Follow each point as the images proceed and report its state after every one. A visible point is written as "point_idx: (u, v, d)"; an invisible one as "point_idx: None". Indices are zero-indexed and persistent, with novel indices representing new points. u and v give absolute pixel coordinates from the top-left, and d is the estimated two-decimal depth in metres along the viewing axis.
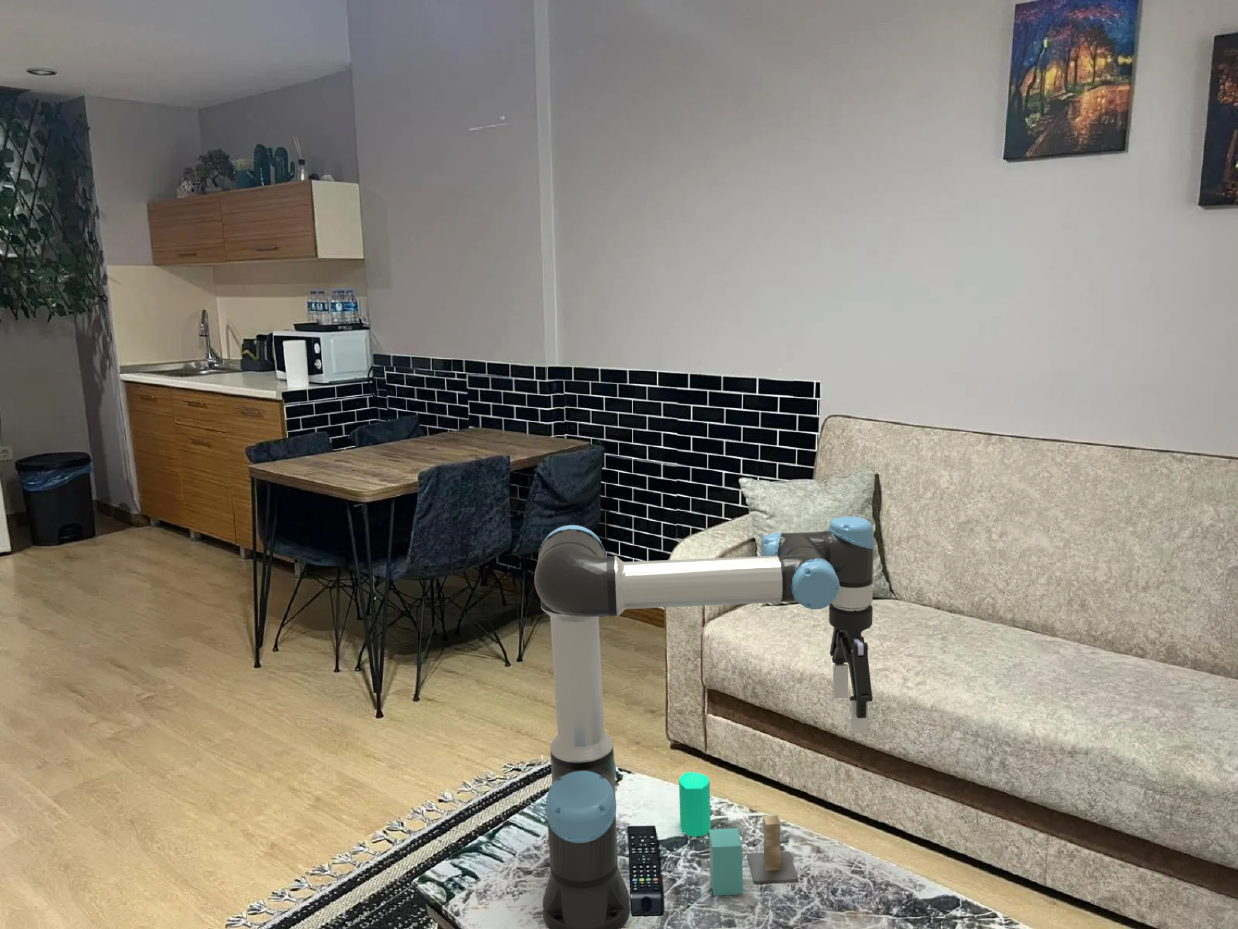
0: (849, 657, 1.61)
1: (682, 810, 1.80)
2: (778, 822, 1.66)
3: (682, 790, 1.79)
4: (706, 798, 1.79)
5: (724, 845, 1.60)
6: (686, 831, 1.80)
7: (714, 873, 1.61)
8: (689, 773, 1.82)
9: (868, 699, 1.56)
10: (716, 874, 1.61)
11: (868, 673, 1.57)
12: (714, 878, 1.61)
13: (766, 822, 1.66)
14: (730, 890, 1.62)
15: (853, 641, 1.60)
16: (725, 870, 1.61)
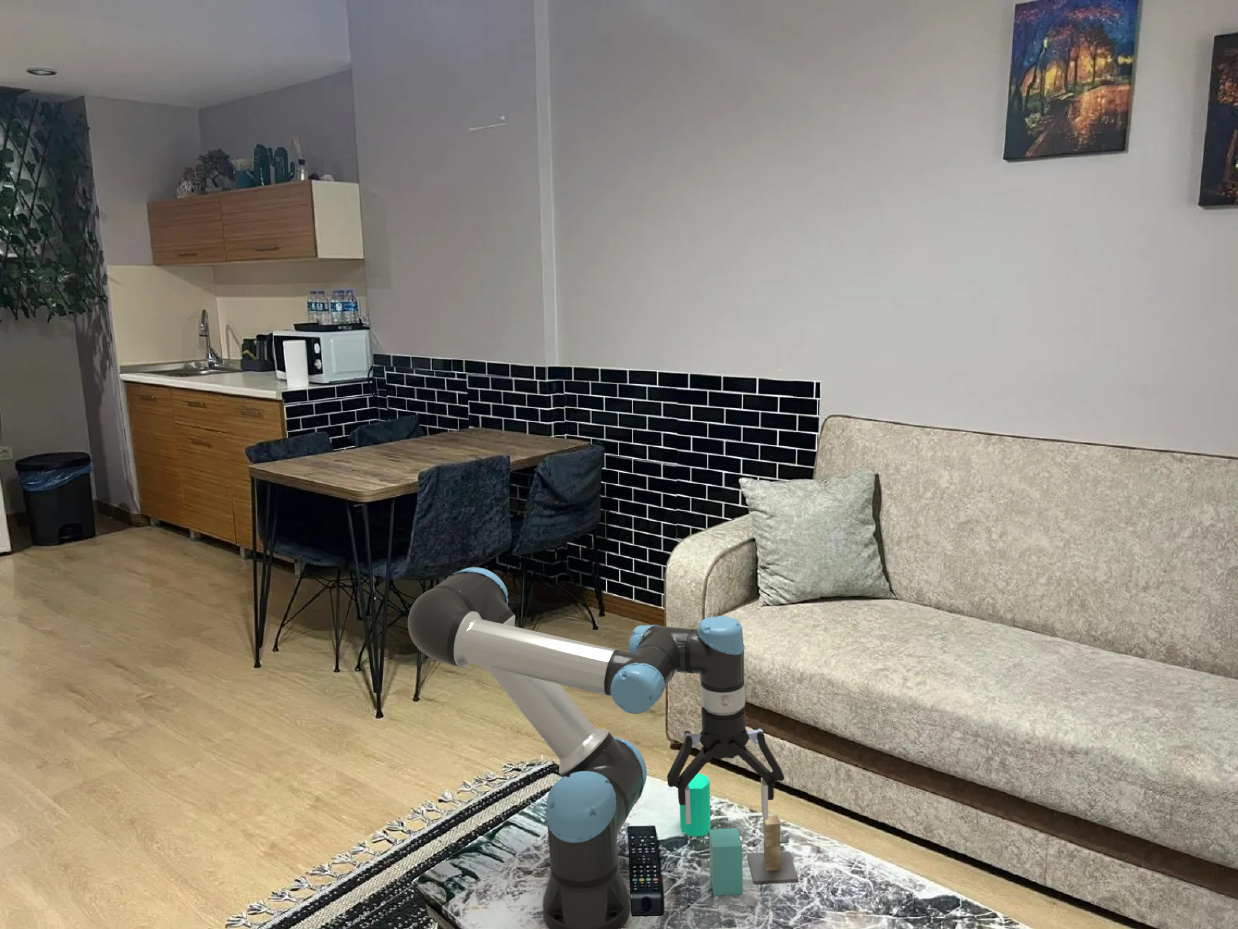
0: (702, 749, 1.60)
1: (682, 810, 1.80)
2: (778, 822, 1.66)
3: None
4: (706, 798, 1.79)
5: (724, 845, 1.60)
6: (686, 831, 1.80)
7: (714, 873, 1.61)
8: None
9: None
10: (716, 874, 1.61)
11: (677, 762, 1.58)
12: (714, 878, 1.61)
13: (766, 822, 1.66)
14: (730, 890, 1.62)
15: (699, 734, 1.59)
16: (725, 870, 1.61)
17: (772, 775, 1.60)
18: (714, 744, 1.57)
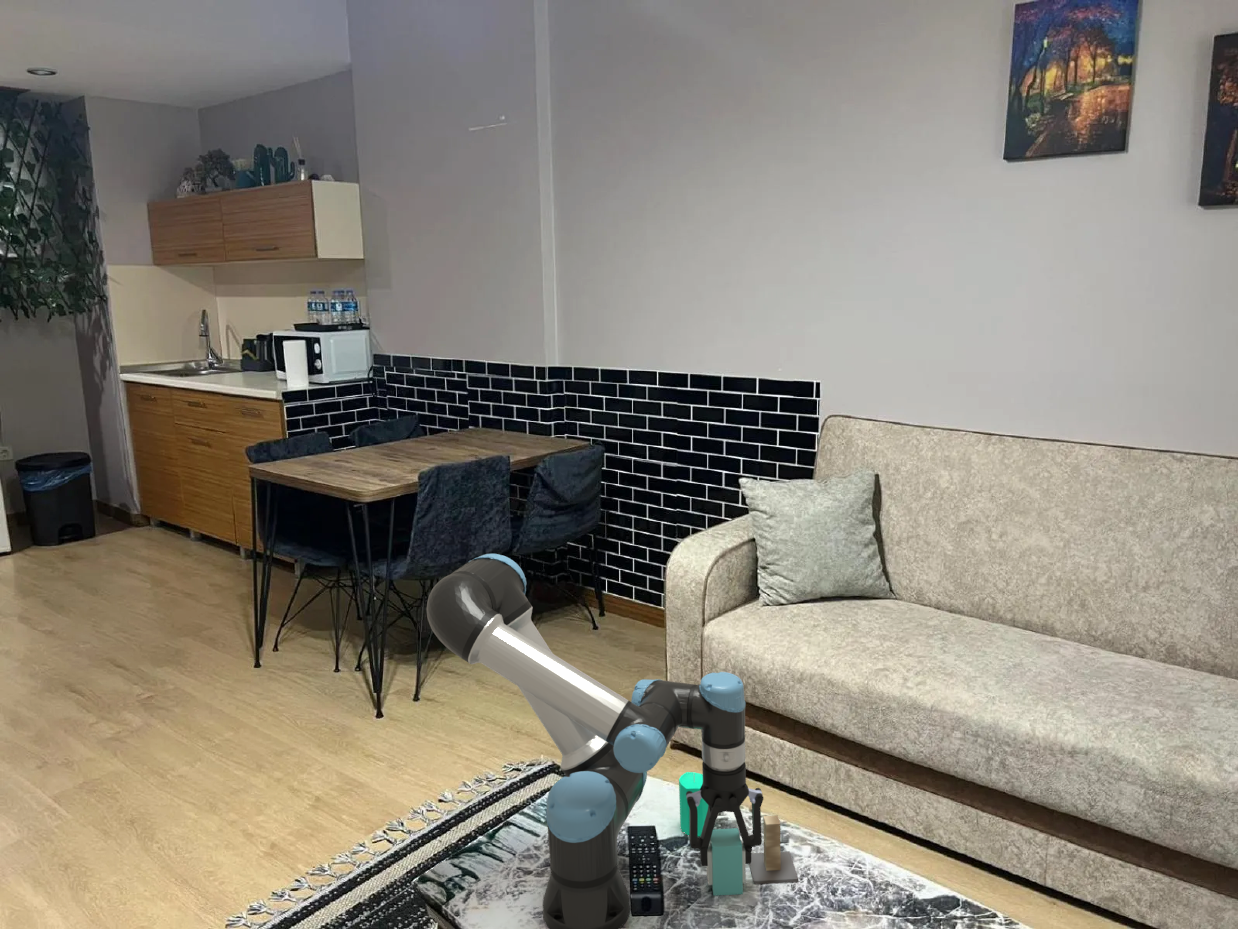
0: (708, 806, 1.63)
1: (682, 810, 1.80)
2: (778, 822, 1.66)
3: (682, 790, 1.79)
4: None
5: (724, 845, 1.60)
6: (686, 831, 1.80)
7: (714, 873, 1.61)
8: (689, 773, 1.82)
9: (690, 843, 1.62)
10: (716, 874, 1.61)
11: (690, 824, 1.61)
12: (714, 878, 1.61)
13: (766, 822, 1.66)
14: (730, 890, 1.62)
15: (699, 791, 1.61)
16: (725, 870, 1.61)
17: None
18: (714, 800, 1.59)
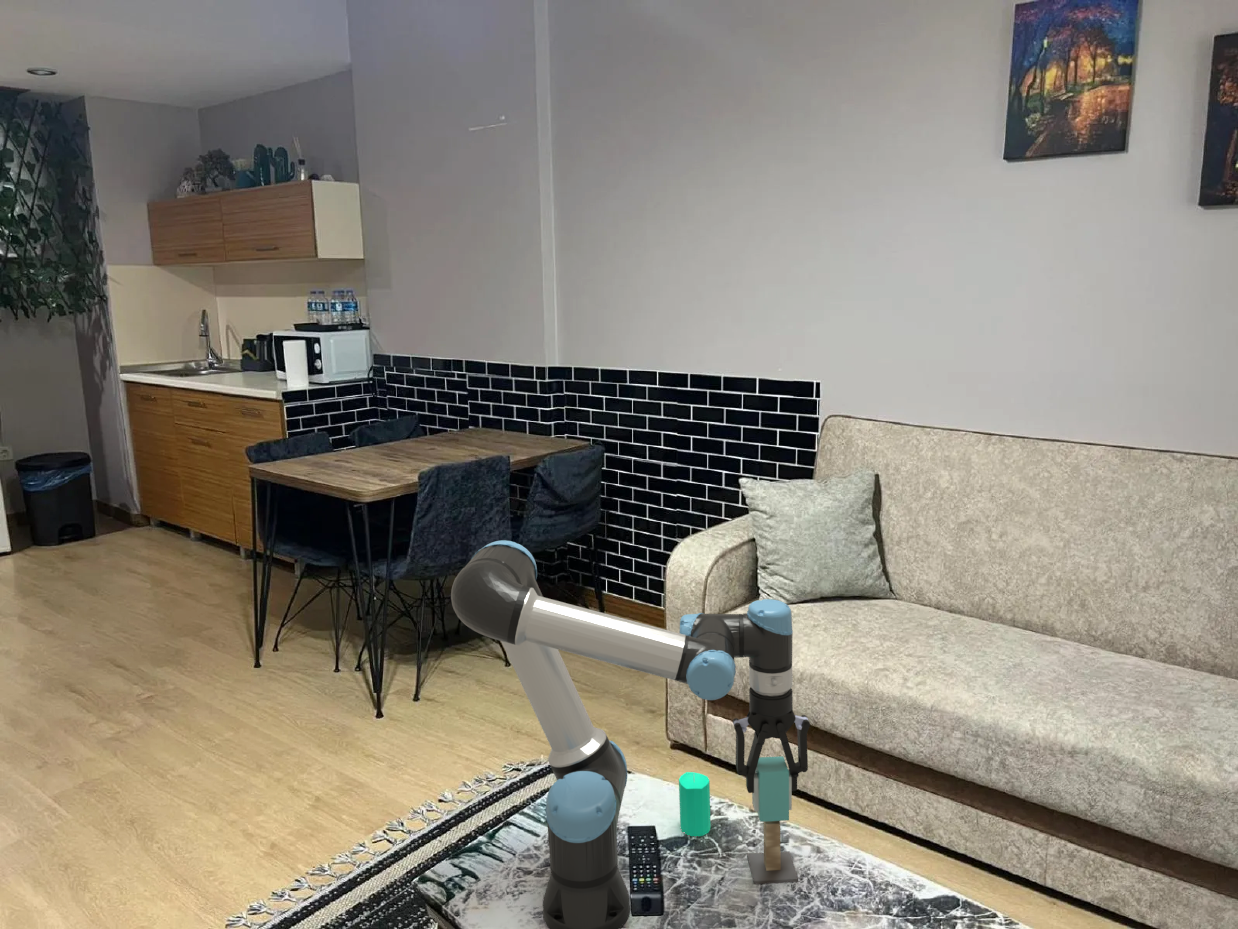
0: (755, 733, 1.64)
1: (682, 810, 1.80)
2: (778, 822, 1.66)
3: (682, 790, 1.79)
4: (706, 798, 1.79)
5: (771, 771, 1.62)
6: (686, 831, 1.80)
7: (761, 799, 1.63)
8: (689, 773, 1.82)
9: (737, 770, 1.64)
10: (763, 800, 1.63)
11: (737, 751, 1.63)
12: (761, 804, 1.63)
13: (766, 822, 1.66)
14: (777, 816, 1.64)
15: (746, 717, 1.63)
16: (772, 795, 1.63)
17: None
18: (761, 725, 1.61)
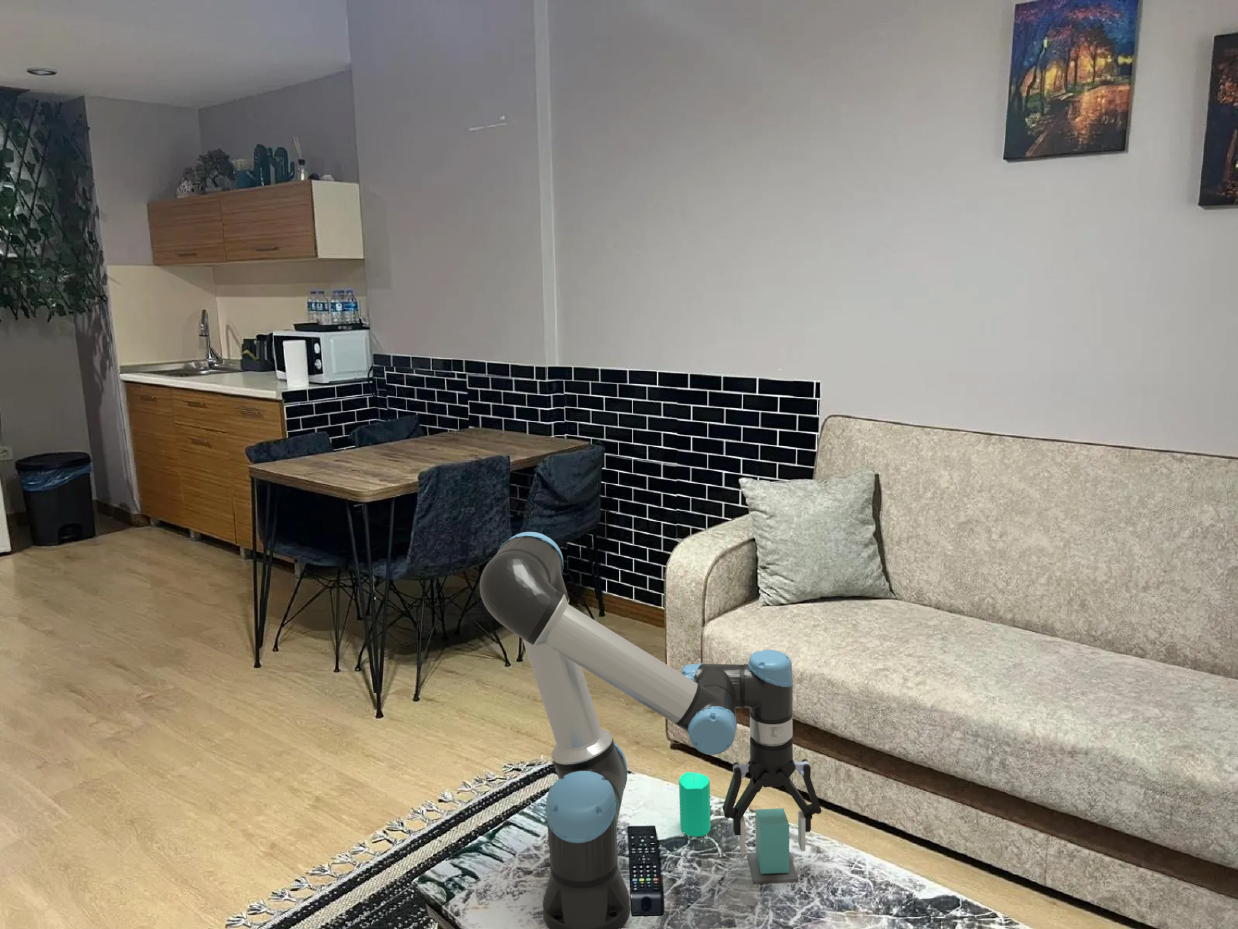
0: (751, 779, 1.66)
1: (682, 810, 1.80)
2: None
3: (682, 790, 1.79)
4: (706, 798, 1.79)
5: (771, 825, 1.64)
6: (686, 831, 1.80)
7: (761, 852, 1.65)
8: (689, 773, 1.82)
9: None
10: (763, 853, 1.65)
11: (730, 794, 1.64)
12: (761, 857, 1.65)
13: None
14: (777, 868, 1.66)
15: None
16: (772, 848, 1.65)
17: (810, 808, 1.66)
18: (762, 774, 1.63)
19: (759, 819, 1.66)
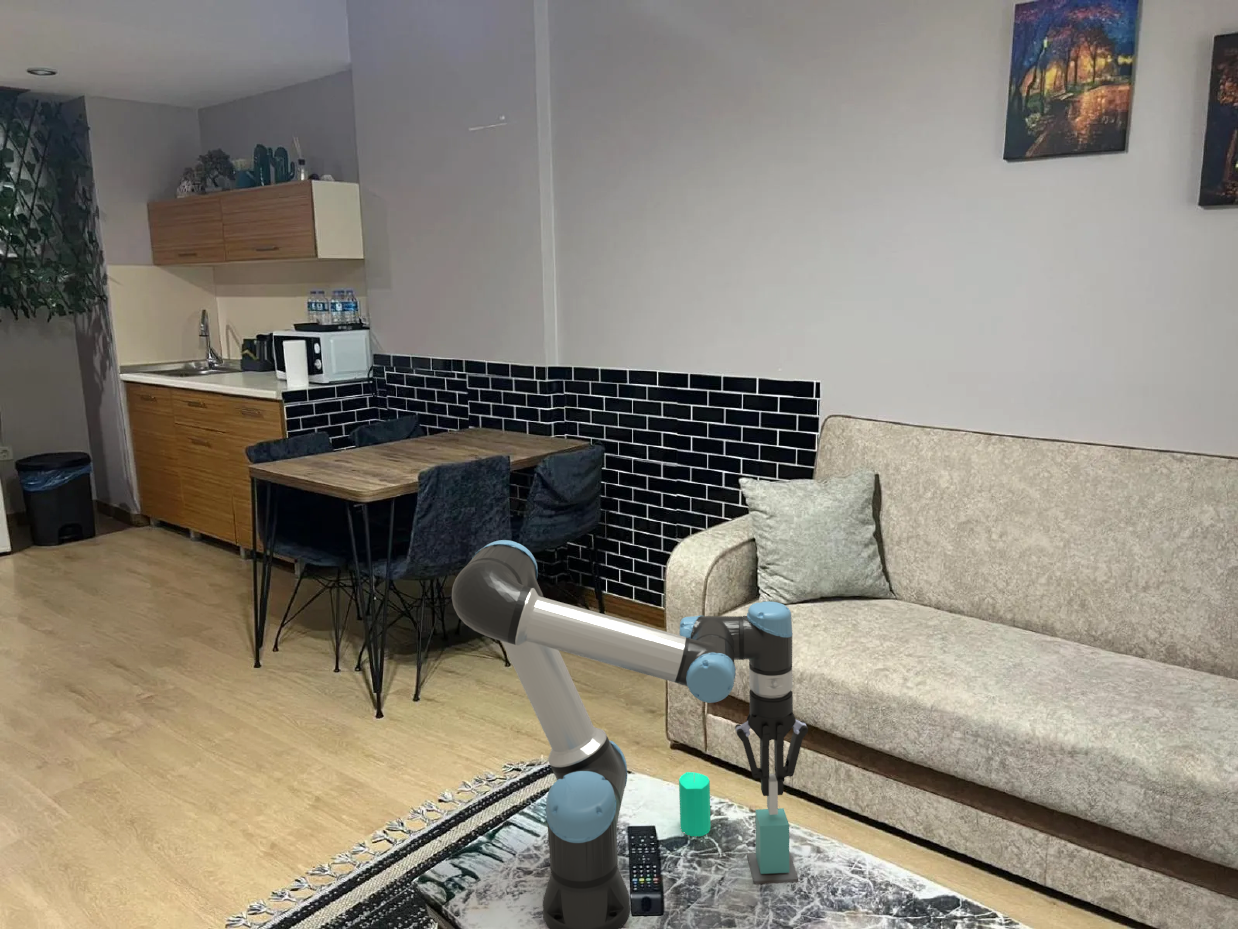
0: None
1: (682, 810, 1.80)
2: None
3: (682, 790, 1.79)
4: (706, 798, 1.79)
5: (771, 825, 1.64)
6: (686, 831, 1.80)
7: (761, 852, 1.65)
8: (689, 773, 1.82)
9: None
10: (763, 853, 1.65)
11: None
12: (761, 857, 1.65)
13: None
14: (777, 868, 1.66)
15: (747, 721, 1.63)
16: (772, 848, 1.65)
17: (784, 773, 1.64)
18: (762, 728, 1.61)
19: (759, 819, 1.66)
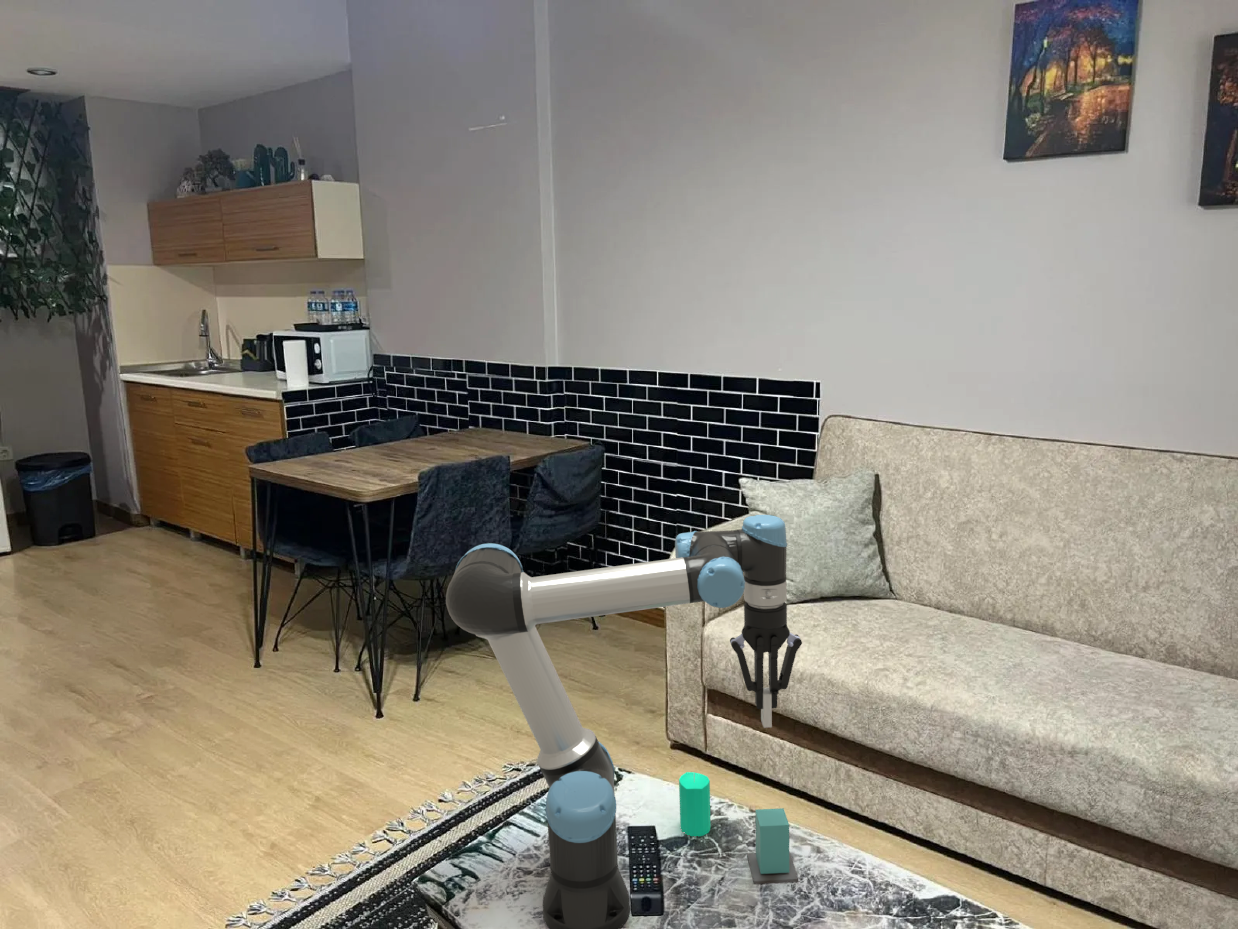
0: (754, 650, 1.66)
1: (682, 810, 1.80)
2: None
3: (682, 790, 1.79)
4: (707, 798, 1.79)
5: (771, 825, 1.64)
6: (686, 831, 1.80)
7: (761, 852, 1.65)
8: (689, 773, 1.82)
9: (746, 686, 1.66)
10: (763, 853, 1.65)
11: (741, 668, 1.65)
12: (761, 857, 1.65)
13: None
14: (777, 868, 1.66)
15: (741, 634, 1.65)
16: (772, 848, 1.65)
17: (778, 686, 1.66)
18: (756, 640, 1.63)
19: (759, 819, 1.66)
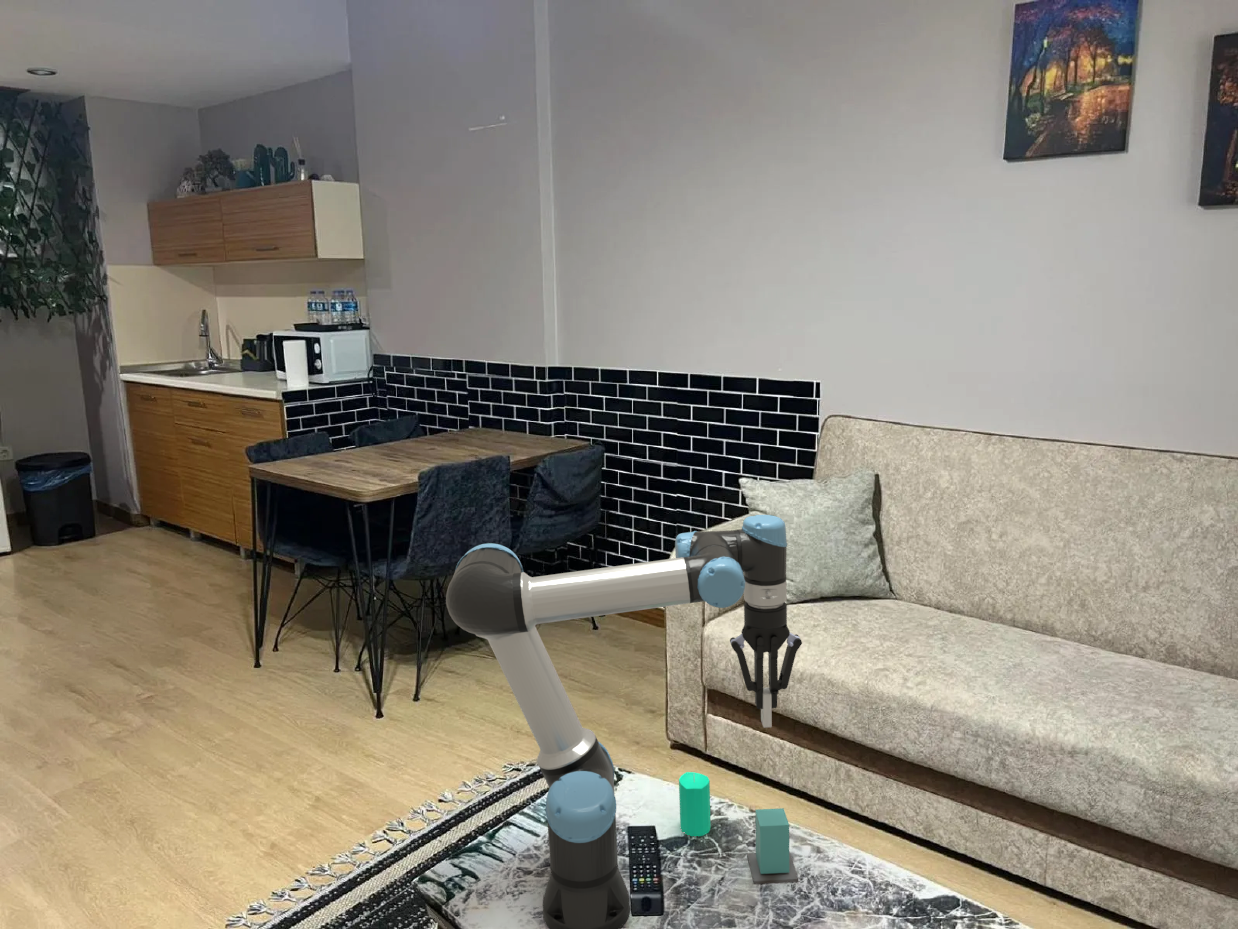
0: (754, 650, 1.66)
1: (682, 810, 1.80)
2: None
3: (682, 790, 1.79)
4: (706, 798, 1.79)
5: (771, 825, 1.64)
6: (686, 831, 1.80)
7: (761, 852, 1.65)
8: (689, 773, 1.82)
9: (746, 686, 1.66)
10: (763, 853, 1.65)
11: (741, 668, 1.65)
12: (761, 857, 1.65)
13: None
14: (777, 868, 1.66)
15: (741, 634, 1.65)
16: (772, 848, 1.65)
17: (778, 686, 1.66)
18: (756, 640, 1.63)
19: (759, 819, 1.66)
